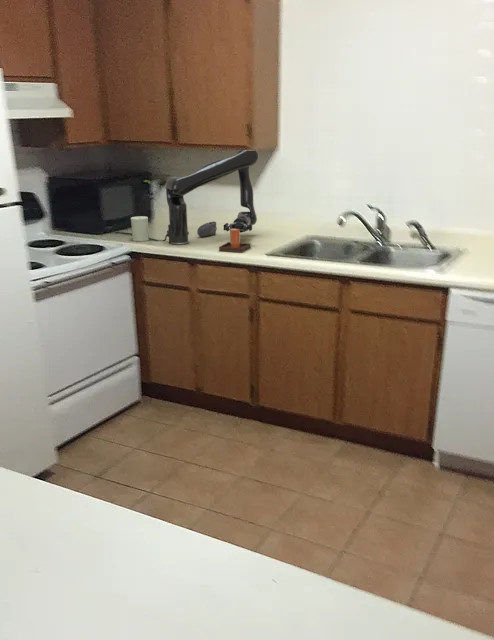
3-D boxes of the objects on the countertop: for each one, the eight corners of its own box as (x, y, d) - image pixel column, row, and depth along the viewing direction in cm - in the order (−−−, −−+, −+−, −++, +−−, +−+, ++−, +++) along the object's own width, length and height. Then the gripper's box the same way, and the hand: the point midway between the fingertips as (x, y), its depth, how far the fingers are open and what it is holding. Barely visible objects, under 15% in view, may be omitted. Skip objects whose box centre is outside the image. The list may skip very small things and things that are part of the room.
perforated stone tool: (201, 238, 359) (200, 225, 356) (194, 237, 362) (193, 224, 359) (219, 234, 369) (219, 221, 367) (212, 233, 373) (212, 220, 370)
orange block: (228, 248, 332) (228, 229, 328) (232, 246, 336) (232, 228, 332) (237, 248, 330) (237, 230, 326) (241, 246, 334) (241, 228, 330)
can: (134, 241, 354) (132, 218, 349) (130, 238, 362) (129, 216, 357) (151, 240, 356) (149, 217, 352) (147, 237, 364) (146, 214, 360)
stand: (219, 251, 330) (219, 246, 329) (228, 246, 340) (228, 242, 339) (241, 253, 326) (241, 248, 325) (250, 247, 336) (250, 243, 335)
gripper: (227, 216, 346) (221, 221, 331) (255, 216, 343) (249, 222, 329) (228, 230, 349) (221, 236, 334) (255, 231, 346) (249, 237, 332)
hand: (235, 229), depth 331 cm, fingers open, 8 cm apart
